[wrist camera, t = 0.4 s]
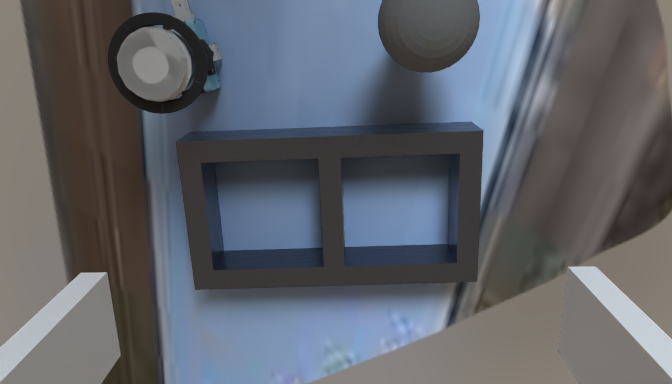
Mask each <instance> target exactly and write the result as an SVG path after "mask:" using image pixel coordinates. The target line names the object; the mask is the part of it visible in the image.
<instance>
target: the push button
mask: <svg viewBox="0 0 672 384" xmlns="http://www.w3.org/2000/svg"><path fill="white" fill-rule="evenodd" d="M171 1H172V5H173V8H174V12H175V15H173V16H174V17H173V16H170V15H167V14H162V13H143V14H139V15H136V16H134V17H132V18H130V19H128V20H127V21H125V22H124V23H123V24H122V25H121V26H120V27H119V28H118V29H117V31H116V32H115V34H114V36H113V38H112V40H111V43H110V46H109V52H108V65H109V70H110V74H111V77H112V79H113V82H114V83H115V85H116V87H117V89H118V90H119V91H120V93H121V94H122V95H123V96H124V97H125V98H126V99H127V100H128V101H129V102H130V103H132V104H133V105H135V106H137V107H138V108H140V109H143V110H145V111H148V112H152V113H161V114H165V113H172V112H176V111H179V110H181V109H183V108H185V107H187V106H188V105H190V104H191V103H192V102H193V101H194V100H195V99H196V98H197V97H198V96H199V95H200V93H204V92H208V91H213V90H215V89H217V88H220V87H221V84H220V80H219V78H218V74H217V70H216V67H215V63H214V61H217V60H221V59H222V56H221V52H220V49H219V45H218V44H211V45H209V41H208V38H207V34H206V30H205V27H204V23H203V21H202V20H197V19H195V18H194V14H193V12H190V8H189V5H188V1H187V0H171ZM180 3H181V7H180ZM184 3H185V4H184ZM176 5H177V7H176ZM155 25H163V28H160V27H155ZM151 26H154V27H151ZM217 50H218V51H217ZM218 53H219V54H218ZM180 93H182V95H183V96H181V97H180V98H178V99H173V98H175V97H177V96H178V95H179V94H180ZM170 99H172V100H170Z"/></svg>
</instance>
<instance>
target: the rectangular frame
mask: <svg viewBox="0 0 672 384" xmlns="http://www.w3.org/2000/svg"><path fill="white" fill-rule="evenodd" d="M176 147H177V154H178V162H179V169H180V177H181V185H182V192H183V200H184V208H185V215H186V223H187V231H188V238H189V246H190V253H191V261H192V269H193V276H194V284H195V290H200V289H235V288H271V287H306V286H341V285H376V284H411V283H446V282H477V274H478V249H479V225H480V201H481V176H482V152H483V130H482V129H480V128H479V127H478V126H476V125H475V124H474V123H472V122H454V123H427V124H400V125H373V126H346V127H319V128H292V129H265V130H238V131H211V132H190V133H189V134H187V135H186V136H184V137H183V138H181V139H180V140H178V141H176ZM435 154H450V167H449V211H448V244H438V245H405V246H372V247H345V240H344V214H343V188H342V162H341V158H350V157H379V156H407V155H435ZM294 159H318V164H319V183H320V203H321V222H322V241H323V248H306V249H274V250H241V251H224V246H223V237H222V228H221V219H220V210H219V201H218V192H217V183H216V174H215V165H214V162H238V161H266V160H294Z"/></svg>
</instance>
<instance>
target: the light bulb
mask: <svg viewBox="0 0 672 384" xmlns="http://www.w3.org/2000/svg"><path fill="white" fill-rule="evenodd" d="M479 20H480V13H479V5H478V2H477V0H383V1H382V3H381V6H380V10H379V15H378V29H379V35H380V38H381V41H382V44H383V46H384V47H385V49H386V51H387V52H388V54H389V55H390V56H391V57H392V58H393V59H394V60H395V61H396V62H398V63H399V64H400V65H402V66H403V67H406V68H408V69H410V70H413V71H418V72H435V71H440V70H443V69H445V68H447V67H450V66H451V65H453V64H454V63H456V62H458V61H459V60H460V59H461V58H462V57H463V56H464V55H465V54H466V53H467V51H468V50H469V49H470V47H471V46H472V44H473V42H474V40H475V38H476V35H477V32H478V28H479Z"/></svg>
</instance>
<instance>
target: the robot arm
mask: <svg viewBox="0 0 672 384" xmlns="http://www.w3.org/2000/svg"><path fill="white" fill-rule="evenodd" d="M558 352H559V354H560V355H561V357H562V358H563V360H564V361H565V363H566V364H567V366H568V368H569V369H570V371H571V372H572V374H573V375H574V377H575V378H576V380H577V381H578V383H579V384H672V339H671V338H670V337H669V336H668V335H667V334H665V332H664V331H662V330H661V329H660V328H659V327H658V326H657V325H656V324H655V323H654V322H653V321H652V320H651V319H650V318H649V317H648V316H647V315H646V314H645V313H644V312H643V311H641V310H640V309H639V308H638V307H637V306H636V305H635V304H634V303H633V302H632V301H631V300H630V299H629V298H628V297H627V296H626V295H625V294H624V293H623V292H622V291H621V290H620V289H618V287H616V286H615V285H614V284H613V283H612V282H611V281H610V280H609V279H608V278H607V277H606V276H605V275H604V274H603V273H602V272H601V271H600V270H599V269H598V268H596V267H568V272H567V281H566V289H565V298H564V306H563V314H562V322H561V331H560V339H559V348H558ZM120 356H121V354H120V348H119V342H118V336H117V330H116V324H115V318H114V312H113V305H112V299H111V293H110V287H109V281H108V275H107V272H101V273H80V274H79V275H78V276H77V277H76V278H74V279H73V280H72V281H71V282H70V283H69V284H68V285H67V286H66V287H65V288H64V289H63V290H62V291H61V292H59V293H58V294H57V295H56V296H55V297H54V298H53V299H52V300H51V301H50V302H49V303H48V304H46V305H45V306H44V307H43V308H42V309H41V310H40V311H39V312H38V313H37V314H36V315H35V316H33V317H32V318H31V319H30V320H29V321H28V322H27V323H26V324H25V325H24V326H23V327H22V328H21V329H20V330H18V331H17V332H16V333H15V334H14V335H13V336H12V337H11V338H10V339H9V340H8V341H6V343H4V344H3V345H2V346H1V347H0V384H101V383H102V382H103V380H104V379H105V377H106V376H107V374H108V373H109V372H110V370H111V369H112V367H113V366H114V364H115V363H116V361H117V360H118V358H119V357H120Z"/></svg>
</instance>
